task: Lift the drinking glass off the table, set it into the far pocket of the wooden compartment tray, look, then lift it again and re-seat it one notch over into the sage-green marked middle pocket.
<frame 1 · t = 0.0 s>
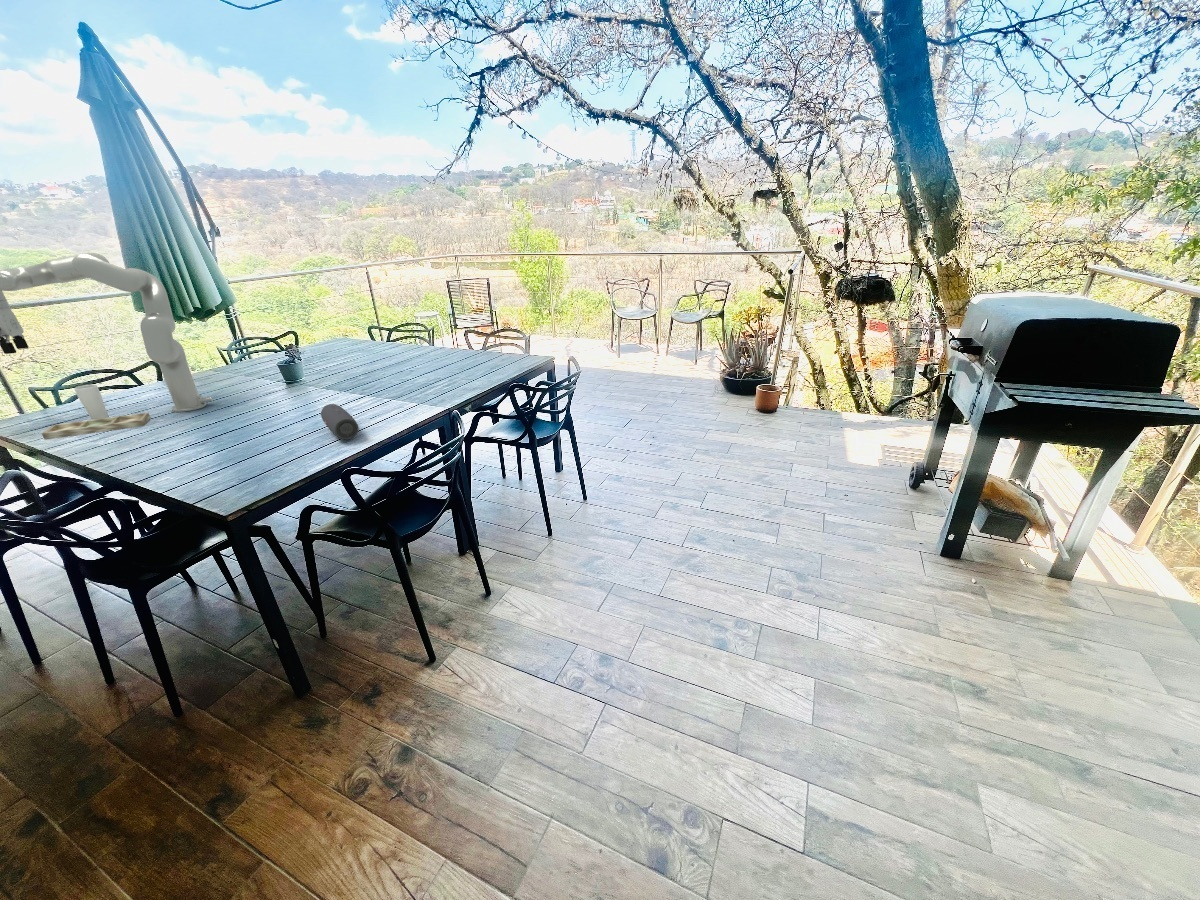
hand: (17, 350, 186), 31 cm above the table, fingers open, 9 cm apart
bluetooth speaker: (342, 434, 190), on the table
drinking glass: (101, 420, 204), on the table
wooden compartment tray: (100, 428, 196), on the table
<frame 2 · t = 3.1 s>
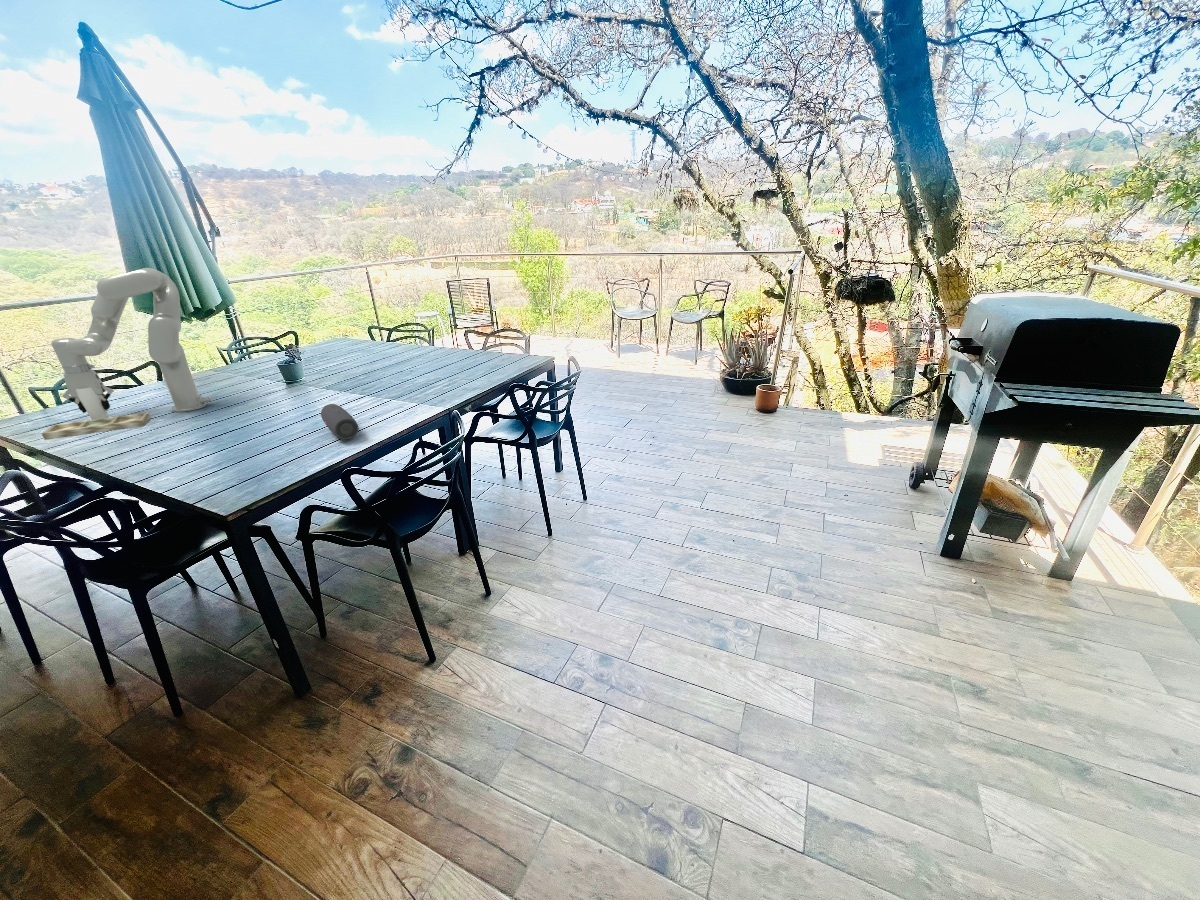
hand: (96, 410, 202), 5 cm above the table, fingers closed on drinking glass, 6 cm apart
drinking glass: (101, 420, 204), on the table, touching gripper
everything else where it was.
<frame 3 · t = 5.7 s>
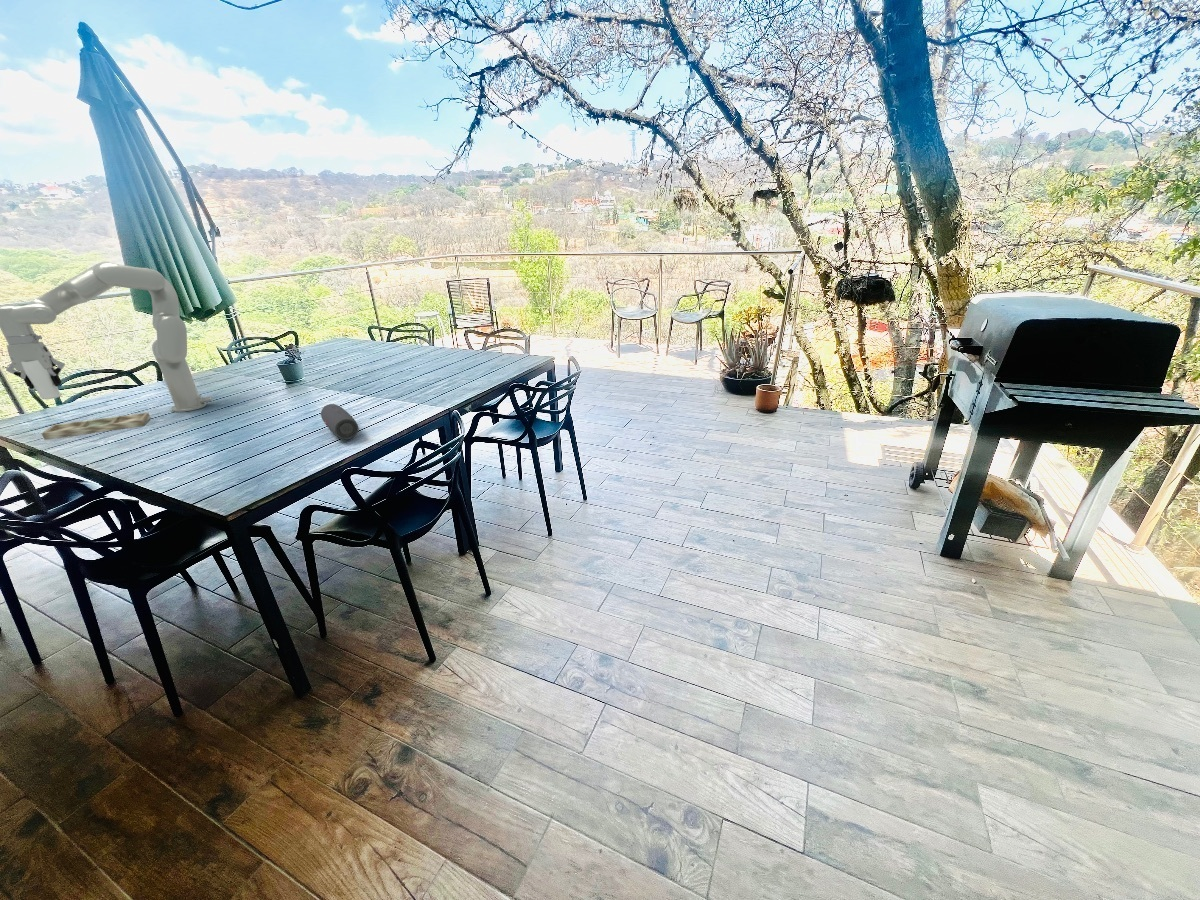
hand: (45, 386, 184), 19 cm above the table, fingers closed on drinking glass, 6 cm apart
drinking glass: (51, 398, 186), point 14 cm above the table, touching gripper
everything else where it was.
when the fingers open (7 cm above the table, at t = 8.4 s): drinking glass drops 1 cm, resting on wooden compartment tray.
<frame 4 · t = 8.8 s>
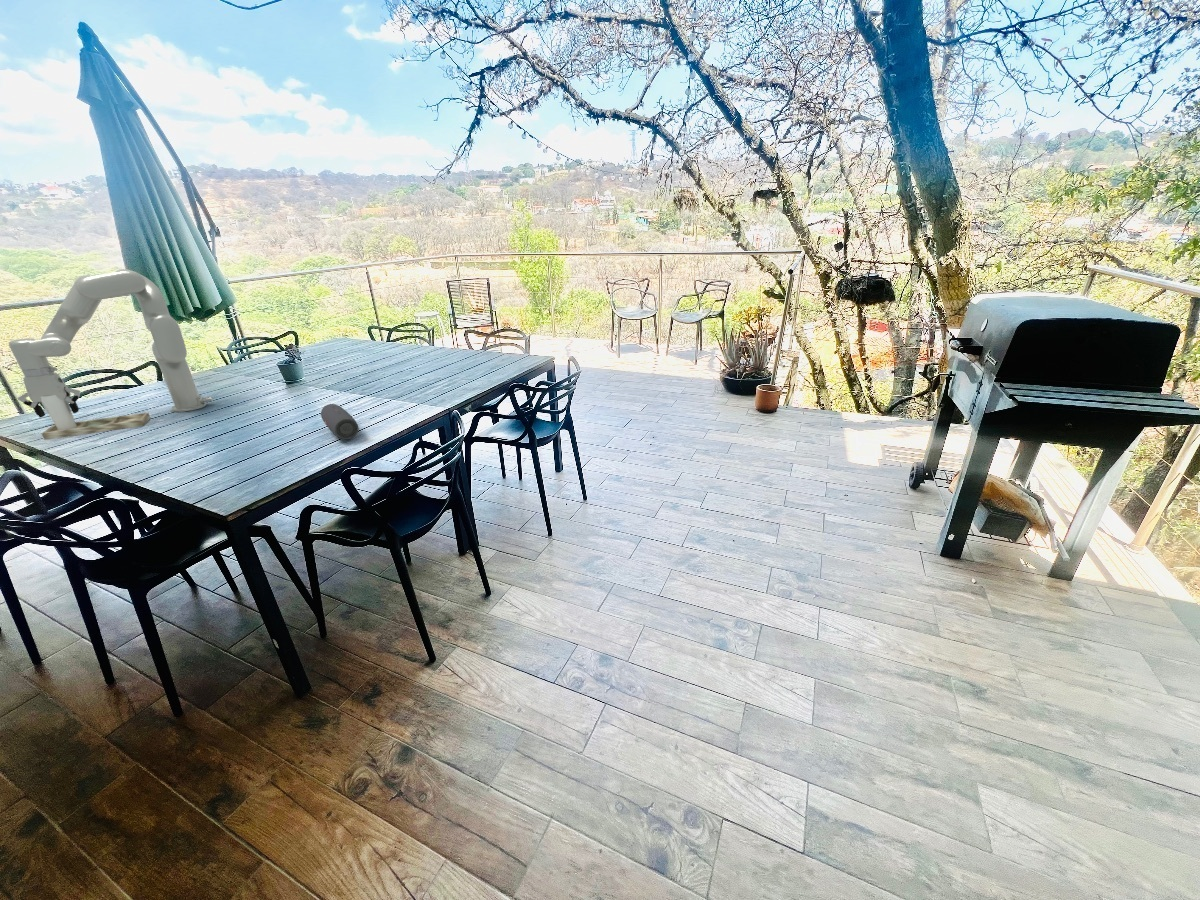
hand: (59, 414, 188), 8 cm above the table, fingers open, 9 cm apart
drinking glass: (68, 430, 192), point 1 cm above the table, touching wooden compartment tray
everything else where it was.
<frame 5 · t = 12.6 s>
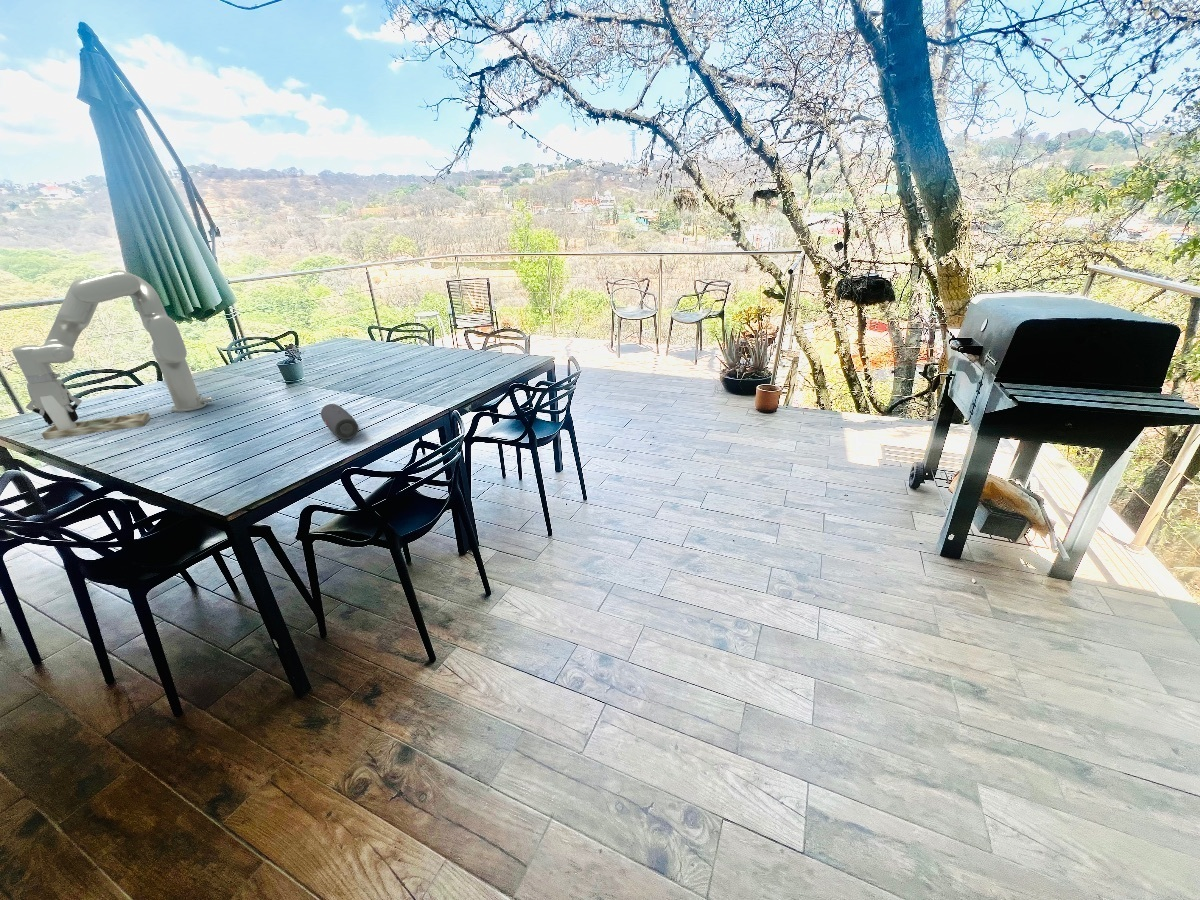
hand: (63, 421, 190), 5 cm above the table, fingers closed on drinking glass, 6 cm apart
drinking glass: (68, 430, 192), point 1 cm above the table, touching gripper, wooden compartment tray
everything else where it was.
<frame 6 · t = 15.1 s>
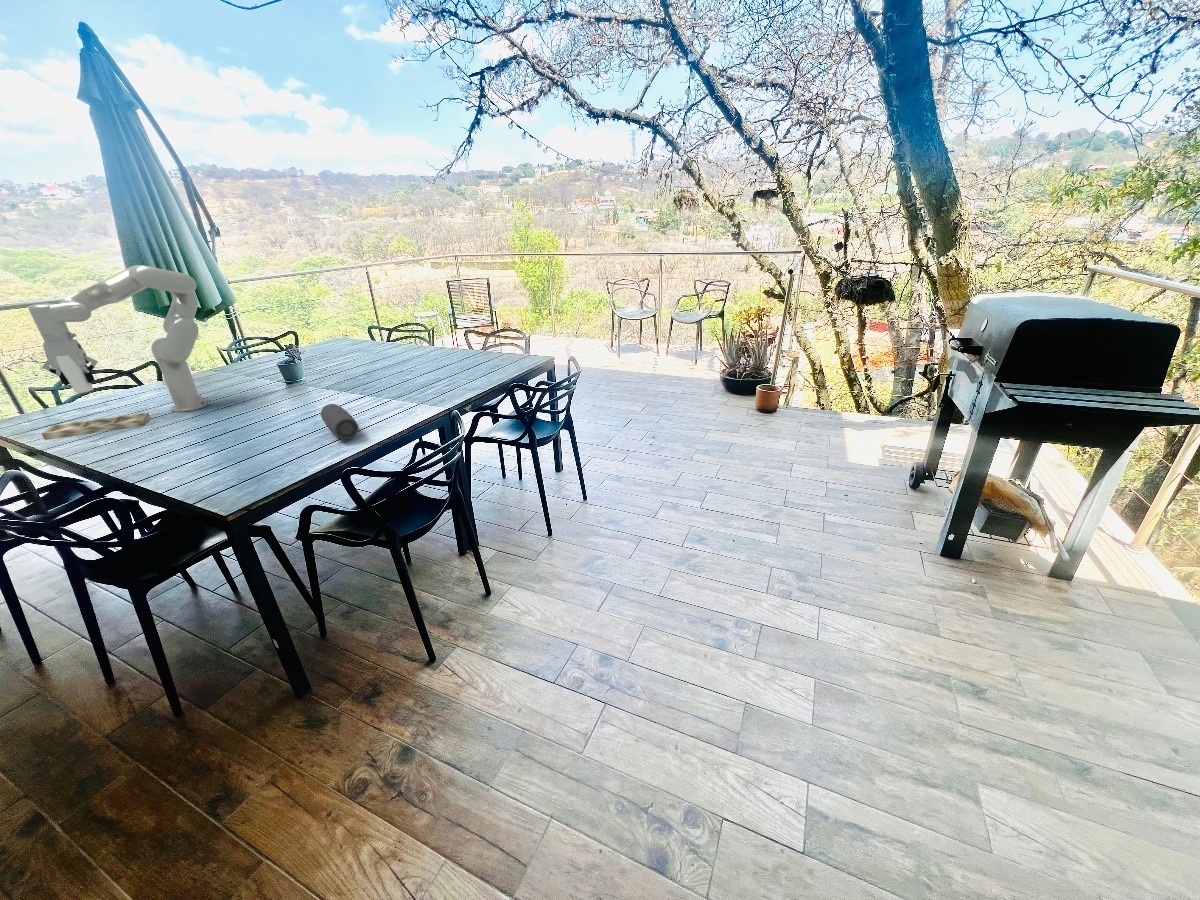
hand: (79, 383, 188), 19 cm above the table, fingers closed on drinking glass, 6 cm apart
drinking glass: (84, 391, 190), point 15 cm above the table, touching gripper
everything else where it was.
when the fingers open (7 cm above the table, at t = 17.8 s): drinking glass drops 2 cm, resting on wooden compartment tray.
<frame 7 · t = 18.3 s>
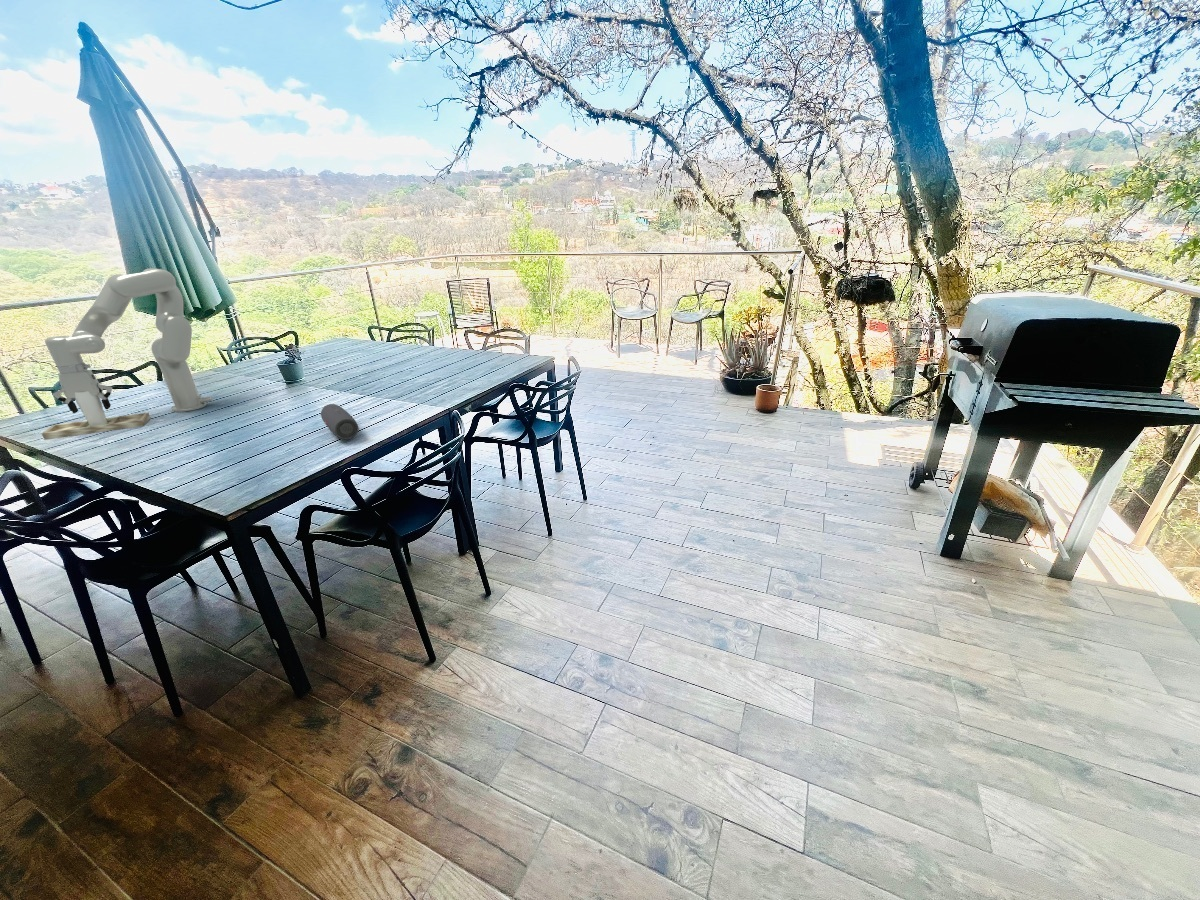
hand: (92, 410, 193), 8 cm above the table, fingers open, 9 cm apart
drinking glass: (99, 425, 196), point 1 cm above the table, touching wooden compartment tray
everything else where it was.
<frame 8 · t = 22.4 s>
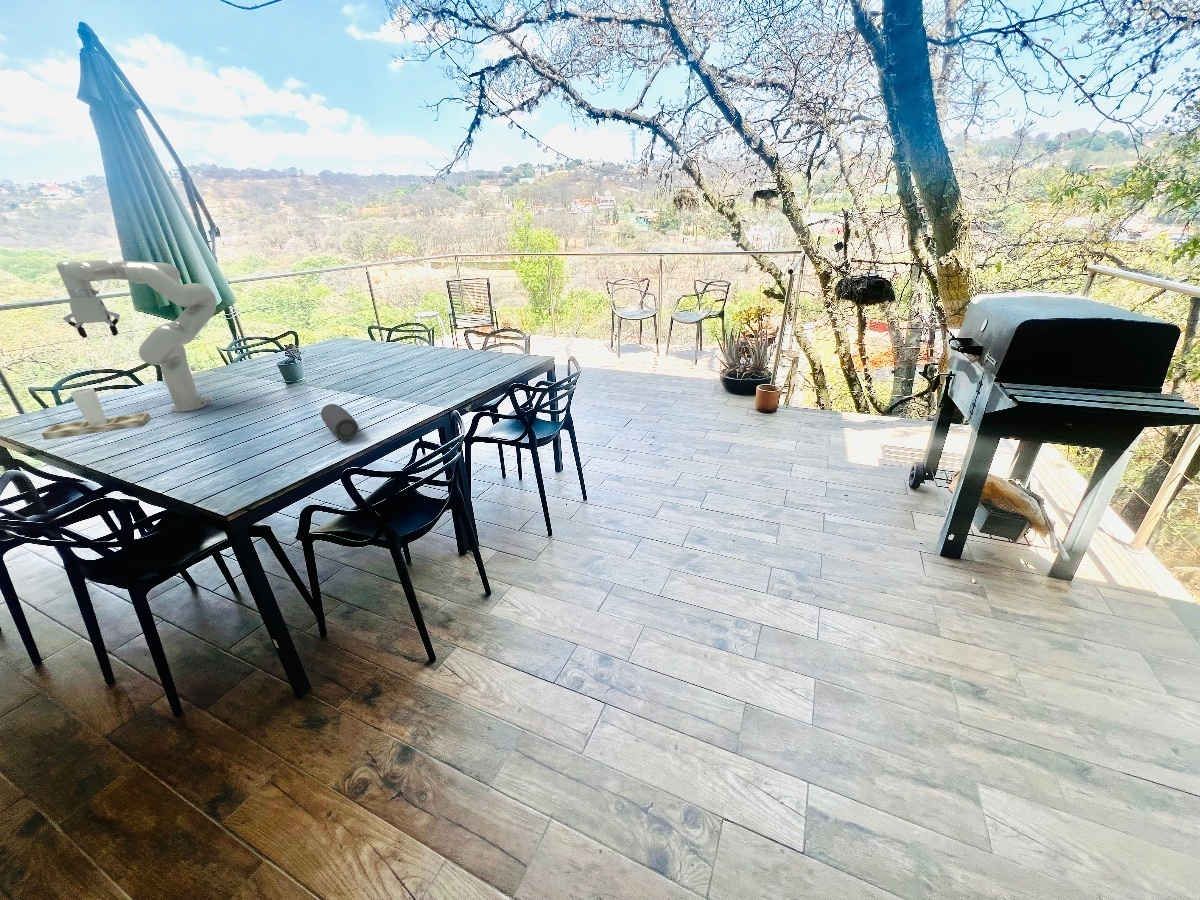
hand: (100, 336, 202), 33 cm above the table, fingers open, 9 cm apart
nothing on the table moved.
at the end: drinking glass 0.3 cm from the target spot, point 0.9 cm above the table; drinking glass tilted 1°; the gripper is holding nothing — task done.
